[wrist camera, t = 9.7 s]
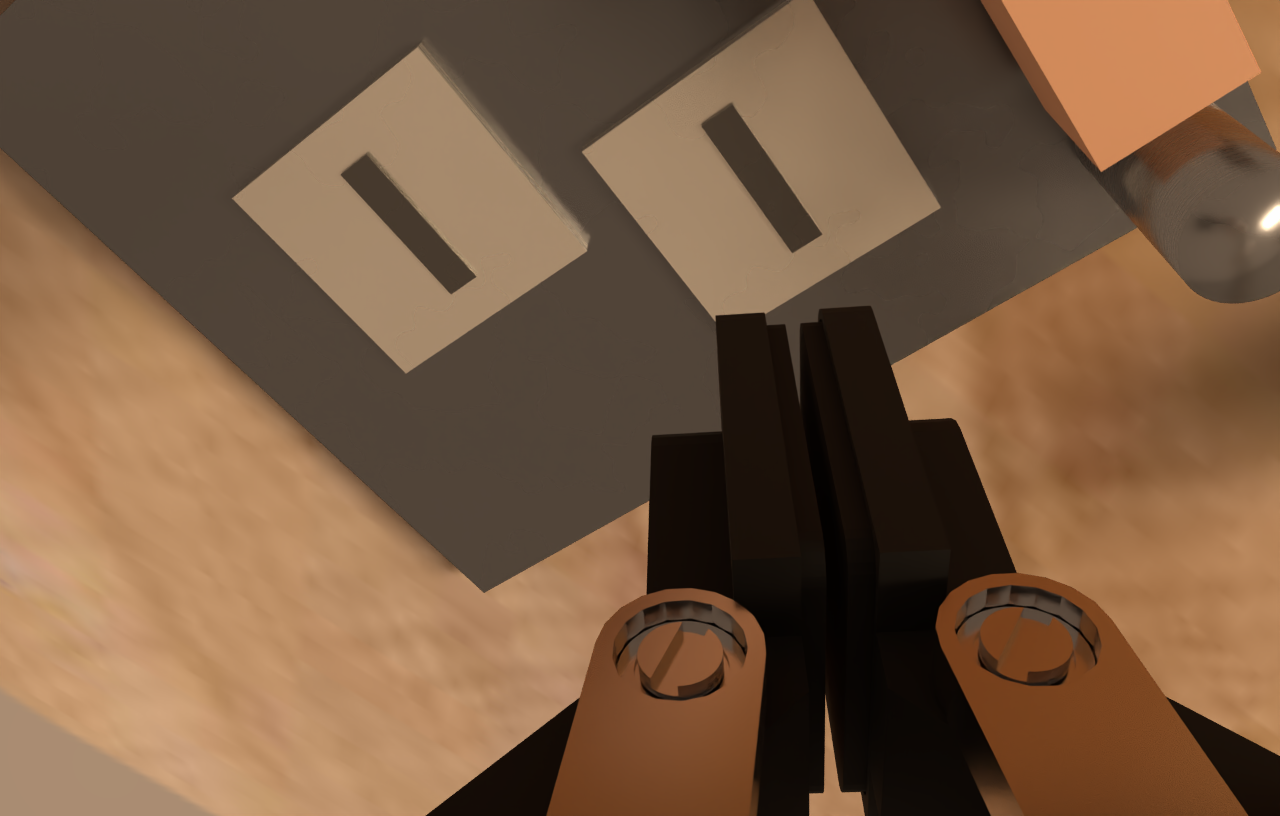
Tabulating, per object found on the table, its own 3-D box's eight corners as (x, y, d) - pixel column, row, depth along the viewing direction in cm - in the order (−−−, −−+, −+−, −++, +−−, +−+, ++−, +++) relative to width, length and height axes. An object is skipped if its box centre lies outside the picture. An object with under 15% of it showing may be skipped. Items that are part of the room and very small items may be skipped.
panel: (1253, 131, 21) (1431, 266, 16) (489, 566, 28) (450, 754, 23) (841, -818, 14) (932, -1090, 9) (-40, 69, 21) (-259, 185, 16)
